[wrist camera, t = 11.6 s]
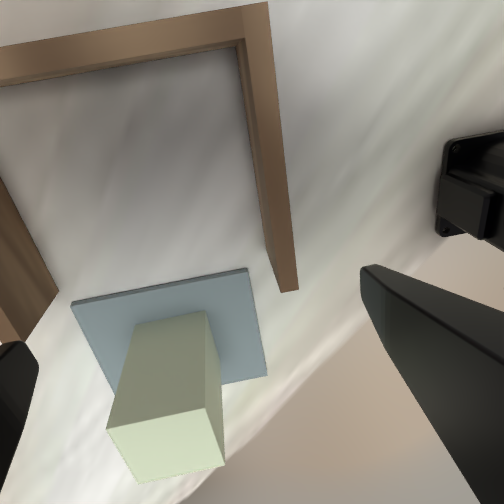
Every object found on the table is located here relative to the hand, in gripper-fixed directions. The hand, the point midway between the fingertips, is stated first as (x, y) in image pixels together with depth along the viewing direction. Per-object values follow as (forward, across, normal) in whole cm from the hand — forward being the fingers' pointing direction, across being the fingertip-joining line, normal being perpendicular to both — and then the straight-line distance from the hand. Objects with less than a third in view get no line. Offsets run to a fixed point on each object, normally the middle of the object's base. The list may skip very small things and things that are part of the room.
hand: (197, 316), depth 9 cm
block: (+12, +4, +11) cm, 17 cm away
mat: (+13, +5, +11) cm, 18 cm away
